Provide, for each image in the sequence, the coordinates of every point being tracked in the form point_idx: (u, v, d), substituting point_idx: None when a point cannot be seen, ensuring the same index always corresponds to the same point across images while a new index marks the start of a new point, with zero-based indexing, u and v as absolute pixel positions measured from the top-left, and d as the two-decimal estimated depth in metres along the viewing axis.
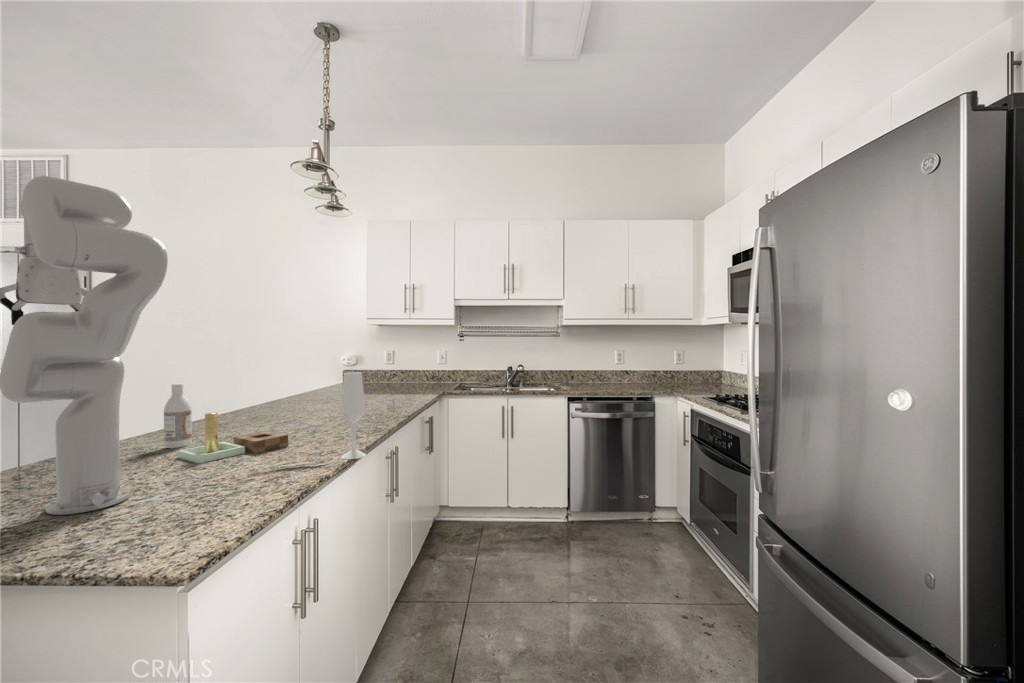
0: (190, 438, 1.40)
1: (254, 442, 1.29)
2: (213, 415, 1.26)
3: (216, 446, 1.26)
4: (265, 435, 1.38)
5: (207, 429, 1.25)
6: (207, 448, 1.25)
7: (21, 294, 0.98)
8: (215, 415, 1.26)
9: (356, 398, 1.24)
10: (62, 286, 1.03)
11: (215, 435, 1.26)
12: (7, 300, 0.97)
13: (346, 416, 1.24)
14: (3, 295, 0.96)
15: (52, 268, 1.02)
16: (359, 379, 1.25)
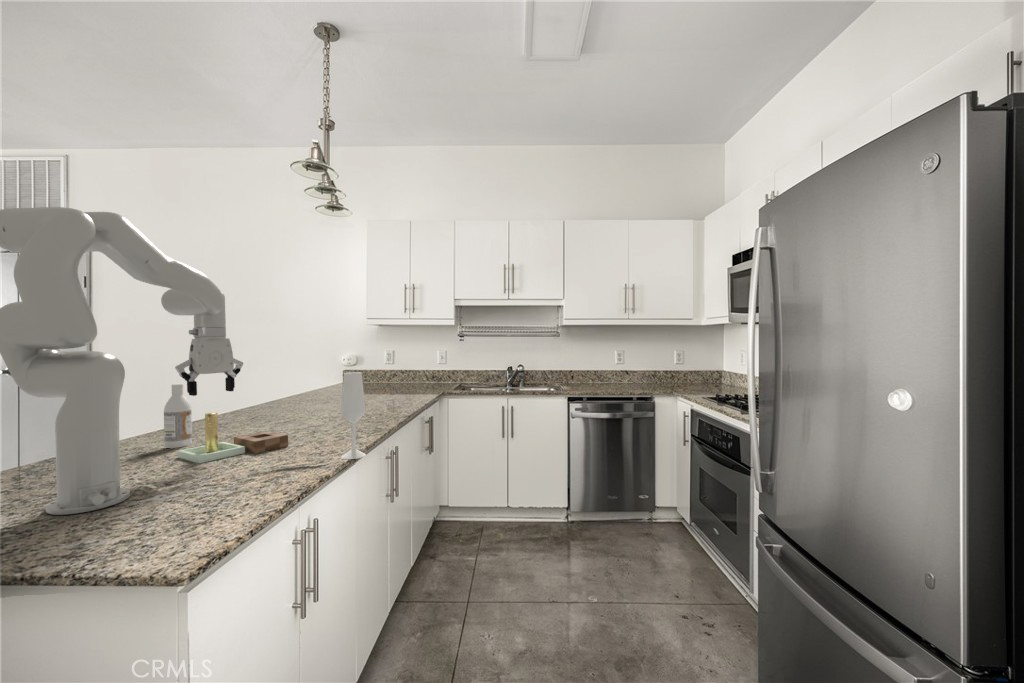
0: (190, 438, 1.40)
1: (254, 442, 1.29)
2: (213, 415, 1.26)
3: (216, 446, 1.26)
4: (265, 435, 1.38)
5: (207, 429, 1.25)
6: (207, 448, 1.25)
7: (196, 368, 1.21)
8: (215, 415, 1.26)
9: (356, 398, 1.24)
10: (222, 358, 1.26)
11: (215, 435, 1.26)
12: (186, 374, 1.20)
13: (346, 416, 1.24)
14: (183, 370, 1.20)
15: (215, 345, 1.25)
16: (359, 379, 1.25)
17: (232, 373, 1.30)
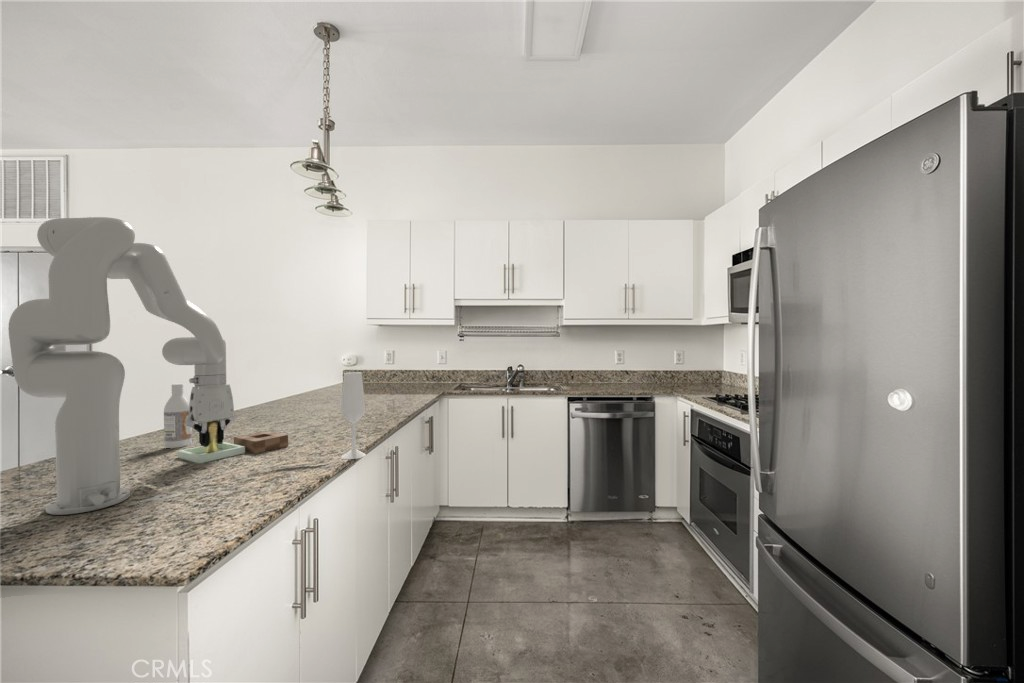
0: (190, 438, 1.40)
1: (254, 442, 1.29)
2: None
3: (216, 446, 1.26)
4: (265, 435, 1.38)
5: (207, 429, 1.25)
6: (207, 448, 1.25)
7: (196, 417, 1.21)
8: None
9: (356, 398, 1.24)
10: (222, 405, 1.26)
11: (215, 435, 1.26)
12: (198, 425, 1.23)
13: (346, 416, 1.24)
14: (193, 423, 1.22)
15: (216, 392, 1.25)
16: (359, 379, 1.25)
17: (223, 424, 1.28)
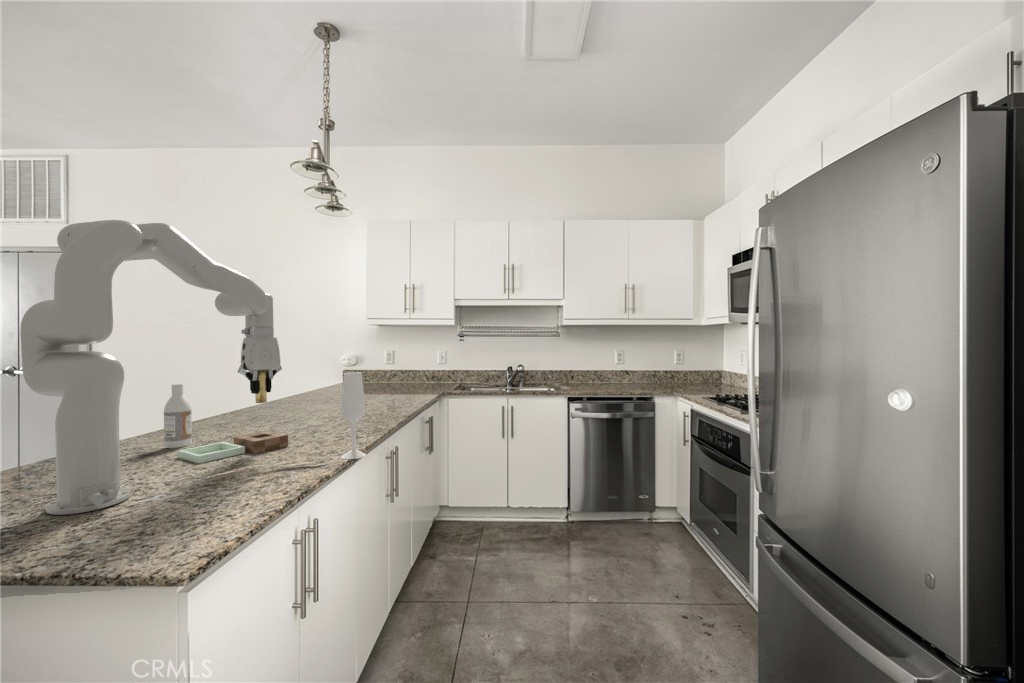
0: (190, 438, 1.40)
1: (254, 442, 1.29)
2: None
3: (265, 394, 1.36)
4: (265, 435, 1.38)
5: (257, 377, 1.34)
6: (257, 395, 1.34)
7: (248, 365, 1.30)
8: None
9: (356, 398, 1.24)
10: (270, 356, 1.36)
11: (264, 383, 1.35)
12: (250, 374, 1.32)
13: (346, 416, 1.24)
14: (245, 371, 1.31)
15: (265, 343, 1.34)
16: (359, 379, 1.25)
17: (271, 374, 1.37)
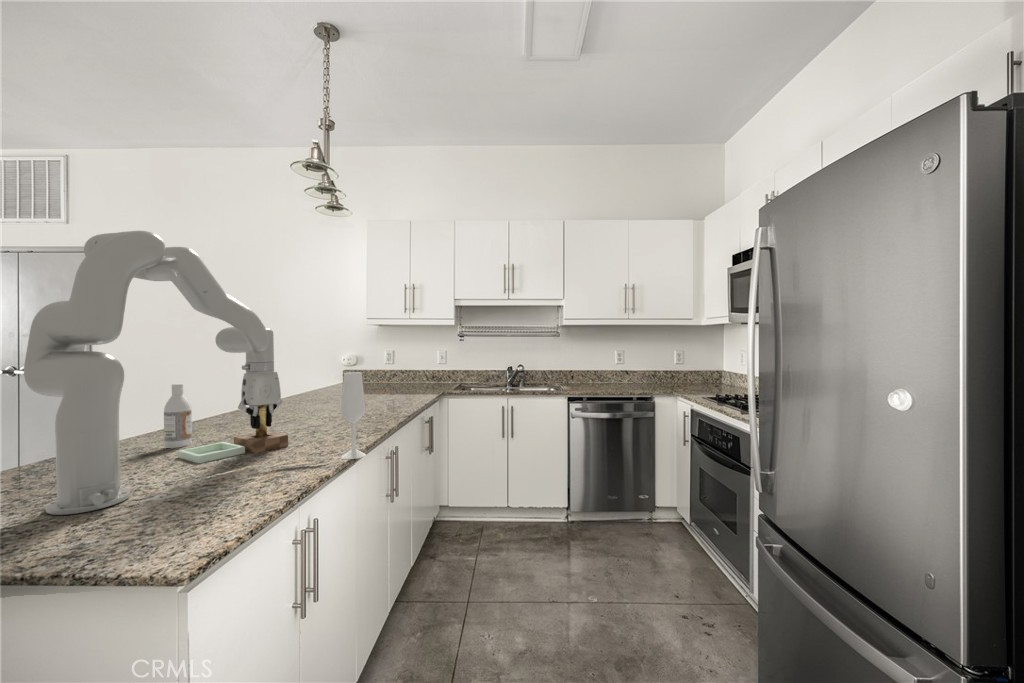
0: (190, 438, 1.40)
1: (254, 442, 1.29)
2: None
3: (265, 428, 1.36)
4: None
5: (257, 413, 1.34)
6: (257, 430, 1.34)
7: (249, 401, 1.30)
8: None
9: (356, 398, 1.24)
10: (271, 391, 1.36)
11: (264, 418, 1.35)
12: (250, 409, 1.32)
13: (346, 416, 1.24)
14: (246, 407, 1.31)
15: (265, 378, 1.34)
16: (359, 379, 1.25)
17: (271, 408, 1.37)
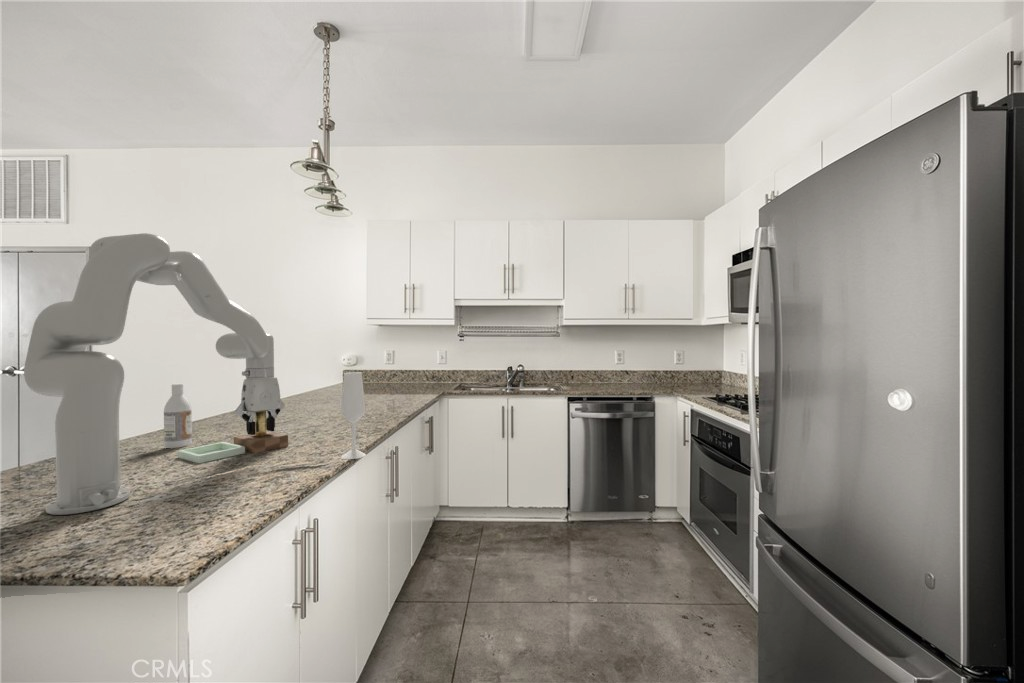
0: (190, 438, 1.40)
1: (254, 442, 1.29)
2: (262, 411, 1.35)
3: None
4: None
5: (257, 424, 1.34)
6: None
7: (248, 407, 1.30)
8: (264, 411, 1.35)
9: (356, 398, 1.24)
10: (271, 397, 1.36)
11: (264, 430, 1.35)
12: (246, 415, 1.31)
13: (346, 416, 1.24)
14: (242, 412, 1.30)
15: (265, 384, 1.34)
16: (359, 379, 1.25)
17: (274, 413, 1.38)
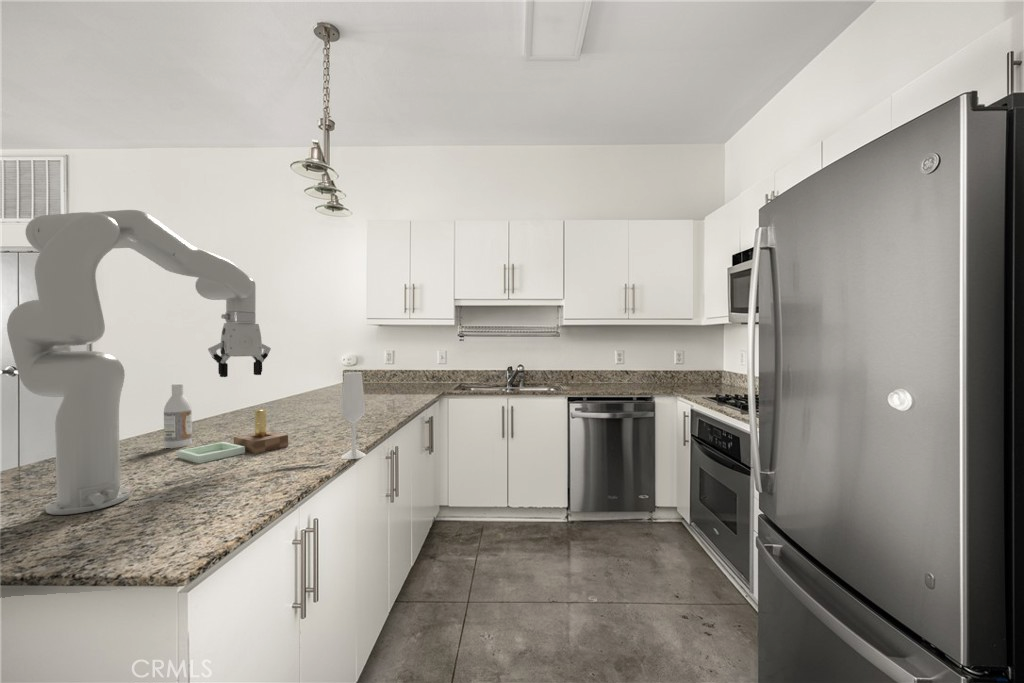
0: (190, 438, 1.40)
1: (254, 442, 1.29)
2: (262, 411, 1.35)
3: None
4: None
5: (257, 424, 1.34)
6: None
7: (227, 351, 1.27)
8: (264, 411, 1.35)
9: (356, 398, 1.24)
10: (251, 342, 1.32)
11: (264, 430, 1.35)
12: (218, 355, 1.26)
13: (346, 416, 1.24)
14: (215, 352, 1.26)
15: (246, 329, 1.31)
16: (359, 379, 1.25)
17: (260, 357, 1.36)
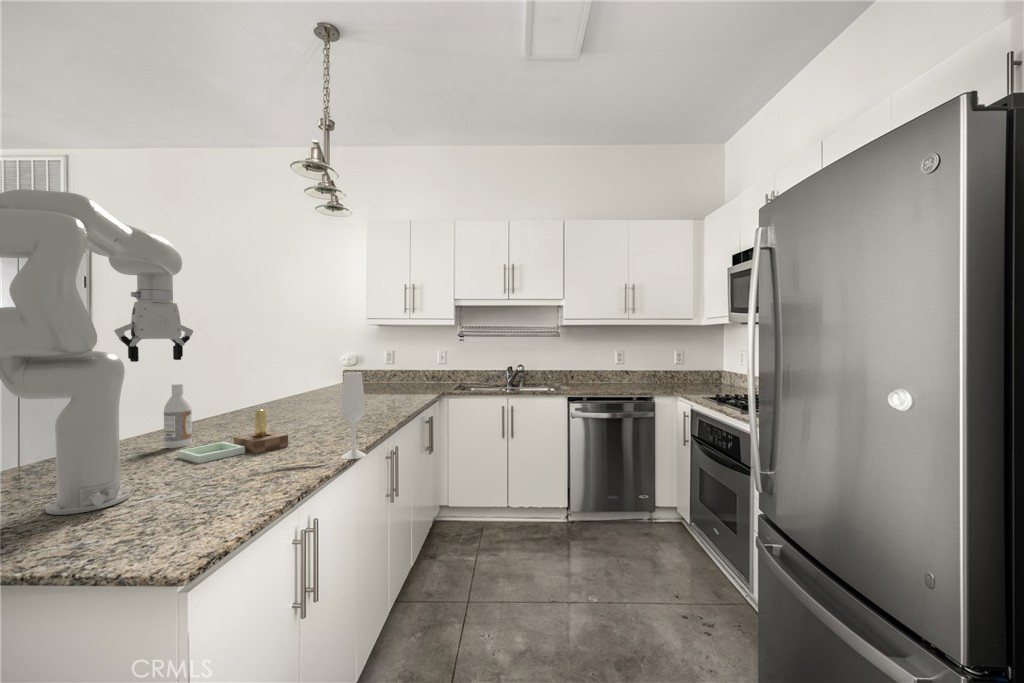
0: (190, 438, 1.40)
1: (254, 442, 1.29)
2: (262, 411, 1.35)
3: None
4: None
5: (257, 424, 1.34)
6: None
7: (137, 332, 1.14)
8: (264, 411, 1.35)
9: (356, 398, 1.24)
10: (167, 324, 1.19)
11: (264, 430, 1.35)
12: (126, 338, 1.13)
13: (346, 416, 1.24)
14: (123, 334, 1.13)
15: (160, 309, 1.18)
16: (359, 379, 1.25)
17: (180, 341, 1.23)
